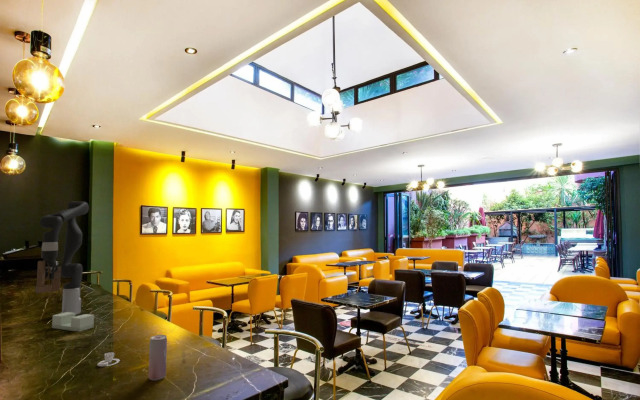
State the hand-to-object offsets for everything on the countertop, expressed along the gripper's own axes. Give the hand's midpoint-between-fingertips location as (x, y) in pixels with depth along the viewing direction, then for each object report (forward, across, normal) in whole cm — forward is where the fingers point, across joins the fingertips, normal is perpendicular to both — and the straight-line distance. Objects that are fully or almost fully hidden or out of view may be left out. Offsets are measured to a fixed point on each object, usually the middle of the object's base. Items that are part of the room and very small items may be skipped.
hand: (48, 278), depth 195 cm
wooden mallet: (+8, 0, 0) cm, 8 cm away
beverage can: (+27, -114, +32) cm, 122 cm away
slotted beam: (+27, -18, -3) cm, 33 cm away
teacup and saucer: (+28, -81, +30) cm, 90 cm away
